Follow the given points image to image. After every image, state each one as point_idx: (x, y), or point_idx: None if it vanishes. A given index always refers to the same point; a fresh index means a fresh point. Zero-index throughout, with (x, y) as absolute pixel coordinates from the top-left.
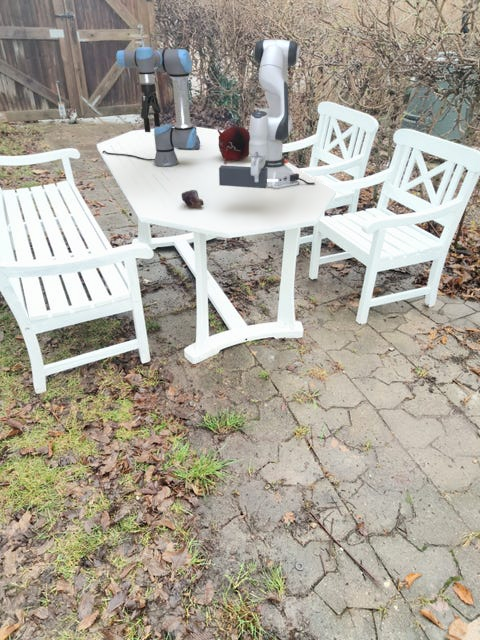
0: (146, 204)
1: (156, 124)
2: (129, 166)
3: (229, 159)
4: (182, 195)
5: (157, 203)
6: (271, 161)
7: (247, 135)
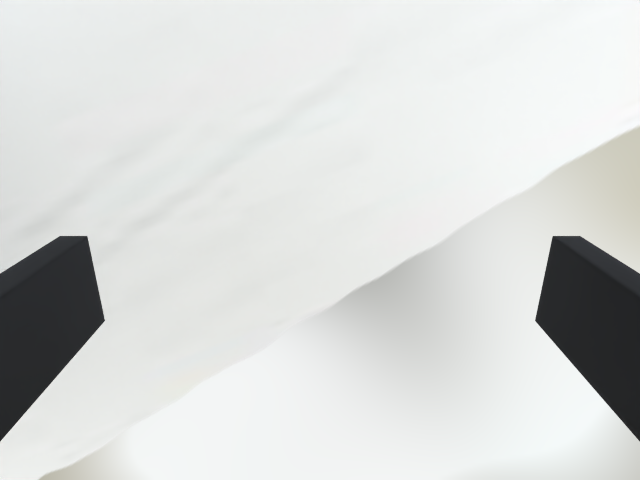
0: (565, 113)
1: (81, 309)
2: None
3: None
4: None
5: (549, 56)
6: None
7: None
